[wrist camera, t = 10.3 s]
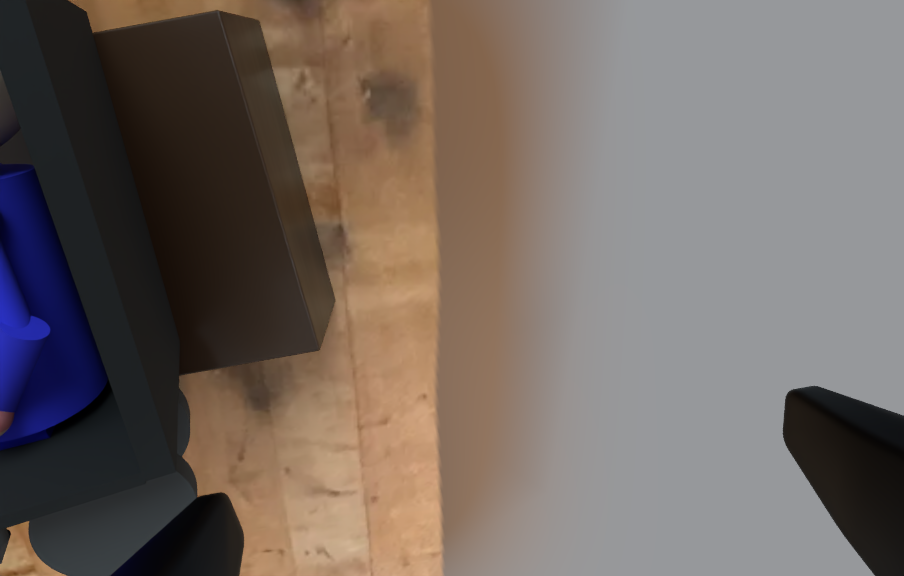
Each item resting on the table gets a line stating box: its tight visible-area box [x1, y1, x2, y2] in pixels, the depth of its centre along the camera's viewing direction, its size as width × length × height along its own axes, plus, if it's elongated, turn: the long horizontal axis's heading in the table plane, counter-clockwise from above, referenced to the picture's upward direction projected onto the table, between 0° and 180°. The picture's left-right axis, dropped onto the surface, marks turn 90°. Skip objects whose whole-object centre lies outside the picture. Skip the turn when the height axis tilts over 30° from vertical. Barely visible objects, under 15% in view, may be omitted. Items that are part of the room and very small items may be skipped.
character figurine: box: [0, 0, 197, 576], centre depth 12 cm, size 8×7×15 cm
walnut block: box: [0, 10, 335, 376], centre depth 18 cm, size 10×10×4 cm
